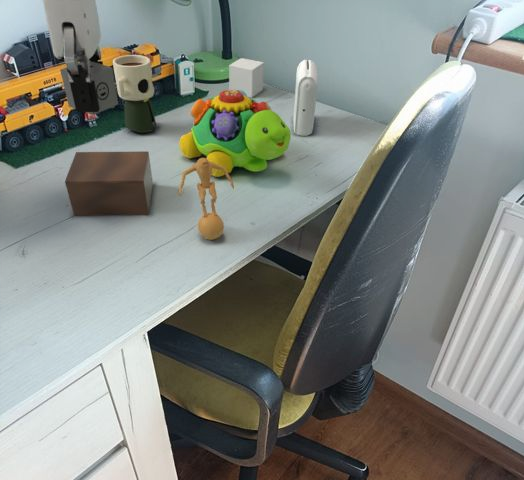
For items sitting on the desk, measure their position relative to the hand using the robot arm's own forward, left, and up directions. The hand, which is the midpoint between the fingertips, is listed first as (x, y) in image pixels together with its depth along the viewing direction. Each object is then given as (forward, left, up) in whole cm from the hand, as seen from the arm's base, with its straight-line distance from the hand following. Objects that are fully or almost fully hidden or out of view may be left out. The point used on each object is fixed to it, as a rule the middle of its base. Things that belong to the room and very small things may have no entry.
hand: (92, 99), depth 75 cm
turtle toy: (+22, +14, -17) cm, 31 cm away
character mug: (+2, +29, -17) cm, 33 cm away
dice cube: (0, 0, -1) cm, 1 cm away
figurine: (+16, -10, -17) cm, 25 cm away
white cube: (+25, +50, -17) cm, 58 cm away
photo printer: (+36, +30, -17) cm, 50 cm away
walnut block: (0, +1, -16) cm, 16 cm away
